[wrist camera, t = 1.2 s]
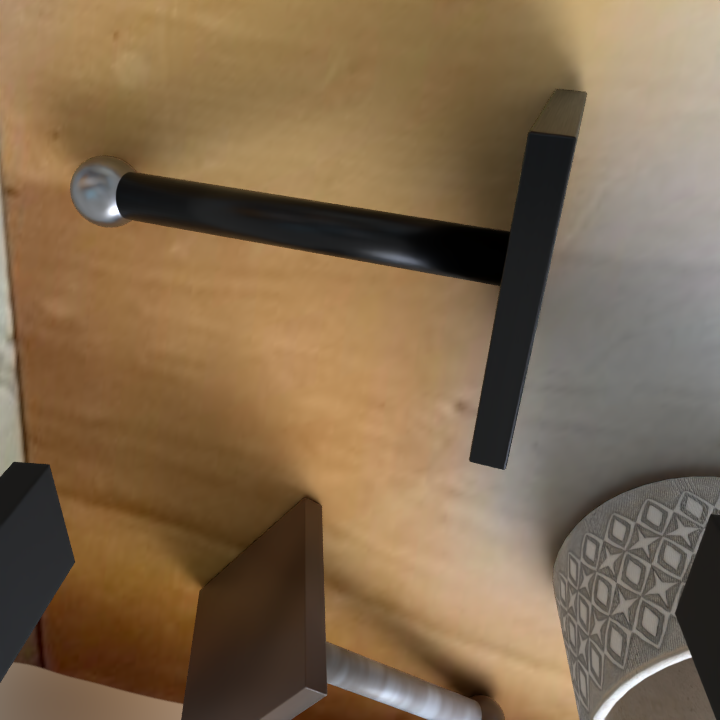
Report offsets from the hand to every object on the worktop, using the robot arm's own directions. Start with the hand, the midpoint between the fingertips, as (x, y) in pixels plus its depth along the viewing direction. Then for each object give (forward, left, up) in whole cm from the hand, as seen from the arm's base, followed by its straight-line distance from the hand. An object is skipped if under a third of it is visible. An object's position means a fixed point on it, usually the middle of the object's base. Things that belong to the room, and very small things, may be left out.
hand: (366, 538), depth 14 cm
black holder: (-4, -3, -25) cm, 25 cm away
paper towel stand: (+21, -26, -25) cm, 41 cm away
